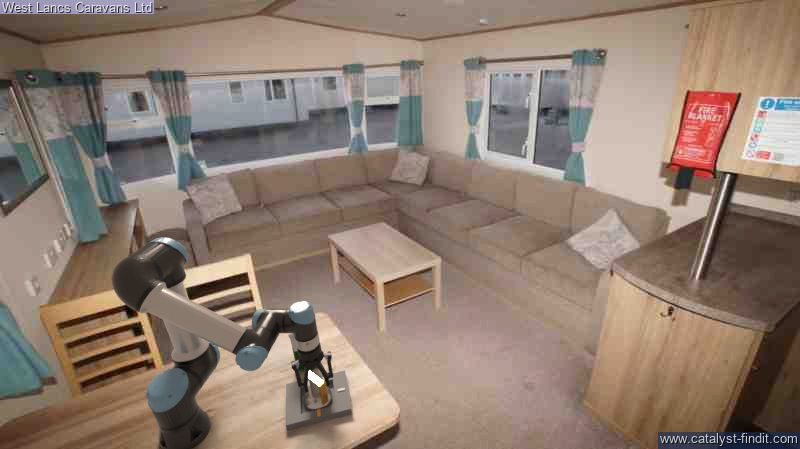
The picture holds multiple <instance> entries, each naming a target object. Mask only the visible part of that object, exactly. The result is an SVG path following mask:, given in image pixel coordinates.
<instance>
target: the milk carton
mask: <svg viewBox="0 0 800 449" xmlns="http://www.w3.org/2000/svg"><path fill="white" fill-rule="evenodd" d="M287 334H288V338H289V341H290V343H291V344H290V345H291V349H292V354H293V356H294V358H293V359H294V361H297V360H298V358H299V355H298V351H297V346H296V342H295V338H294V334H293V333H287ZM298 368H299V371H301V370H302V371H304V368H305V367H304V366H303V365H301V364H299V367H298ZM315 369H316V367H312V368H309V370H315Z"/></svg>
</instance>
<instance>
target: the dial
mask: <svg viewBox="0 0 800 449" xmlns="http://www.w3.org/2000/svg"><path fill="white" fill-rule="evenodd" d="M308 380H309V382H310V386H311V391H312V397H313V399H312V400H311V399H310V395H309V392H306V394H305V395H304V405H305V407H306V408H307V409H308V410H309V411H315V410H318V409H323V408H326V407H328V406H329V404H330V403H331V401H332V392H331V390H330V389H329V388H328V387H327V389H326V384H325V382H324V381H323V380H322V379H320V378H319V376H318V375H317V374H315V373H314V372H312V371H311V370H309V375H308ZM327 391H328V395H327Z"/></svg>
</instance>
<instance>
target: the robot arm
mask: <svg viewBox="0 0 800 449" xmlns="http://www.w3.org/2000/svg"><path fill="white" fill-rule="evenodd" d="M188 260H189V253H188V251H187V249H186V247H184V245H182V243H180V242H179V241H176V240H175V239H173V238H171V237H165V236H164V237H163V236H162V237H157V238H154V239H152V240H151V241H148V242H146V243H145V244H144V245H143V246H141V247H140V248H139V249H137V250H136V251H133V253H131V254H129V255H128V256H127V257H124V258H123V259H121V260H120V261H119V262H118V263H117V264H116V266H115V267H114V268H113V271H112V273H111V274H112V275H111V285H112V289H113V290H114V292H115V294H116V296H117V297H118V298H119V300H120V301H121V302H122V303H124V305H126V306H127V307H128V308H130V309H132V310H133V311H136V312H137V313H140V314H142V315H143V314H148V313H149V314H151V315H153V316H156V317H158V318H159V319H161V320H162V321H163V323H164V326H165V328H166V330H167V334H168V337H169V339H170V342H171V344H172V347H173V349H172V352H171V355H170V356H171V359H172V361H173V364H174V365H173V367H172V368H168V369H166V370H163V372H162V373H159V374H157V375H156V376H155V377H154V378H153V379H152V380H150V383H149V384H148V386H147V388H146V392H145V393H146V395H145V396H146V399H147V404H148V405H147V406H148V407H149V409H151V412H152V414H153V416H154V418H155V420H156V422H157V425H158V428H159V429H158V443H159V446H160V448H161V449H194V448H195V447H197V446H199V444H201V442H202V441H204V439H205V438H206V437H207V435H208V433H209V432H210V430H211V425H212V424H211V419H210V416H209V414H208V413H207V411H205V410H204V409H203V408H202V407H200V405H199V404H198V401H197V399H196V396H197V395H198V394H199V392H200V391H201V389H202V388H203V387H204V385H205V383H206V382H207V381H208V379H210V377H211V375H212V374H213V373H214V371H215V370H216V368H217V366H218V364H219V362H220V359H221V353H220V352H221V351H220V349H219V348H221V349H223V350H225V351H227V352H229V353H231V354H233V355H235V363H236V365H237V366H239V368H240V369H242V370H243V371H246V372H255V371H256V370H258V369H260V368H261V366H262V365H263V364H264V362H265V360H267V358H268V356H269V353H270V352H271V350H272V348H273V346H274V344H275V343H276V340H277V339H278V337H279V335H280V334H289V333H293V334H294V338H295V342H296V346H297V351H298V355H299V358H298V360H297V361H295V360H292V361H291V362H290V364H291V369H292V370H293V371H294V374H295V378H296V382H297V383H298V387H301V386H304V388H305V392H309V395H310V399H311V400H312V399H313V397H312V391H311V386H310V382H309V380H308V375H309V371H310V369H309V368H312V367H315V368H317V370H319V372H320V374H321V376H322V377H323V381H324V382H325V384H326V389H327V386H329V385H330V384H329V378H333V373H334V371H333V365H332V359H333V355H332V352H331V351H330V350H329V351H327V352H324V351H323V350H322V347H321V342H320V335H319V330H318V325H317V320H316V314H315V311H314V307H313V305H312V304H311V302H310V301H307V300H299V301H296V302H293V303H292V304H291V305H290V306H289V308H260V309H257V310H256V311H255V312H253V317H252V319H251V328H252V330H250V329H249V328H246V327H245V326H242V325H241V324H239V323H236V322H234V321H232V320H230V319H229V318H226V317H224V316H222V315H221V314H218V313H217V312H215V311H213V310H211V309H209V308H207V307H205V306H203V305H201V304H199V303H197V302H195V301H193V300H192V299H189V297H188V294H187V291H186V287H185V284H184V282H185V280H186V279H187V273H186V272H185V268H184V266H185V265H186V264H187V261H188ZM324 359H325V361H326V363H327V368H328V372H327V370H326V369H325V366H324V365H323V363H322V361H323V360H324ZM299 364H301V365H303V366H304V367H305V368H304V370H303V378H301V373H300V370H299V368H298V367H299ZM327 395H328V391H327Z"/></svg>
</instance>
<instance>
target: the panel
mask: <svg viewBox="0 0 800 449" xmlns="http://www.w3.org/2000/svg"><path fill="white" fill-rule="evenodd" d="M318 377H319V378H320V379H322V380H323V377H322V375H320V376H318ZM329 384H330V385H329V386H327V387H328V388H329V389H330V390H331V392H332V401H331V403H330V404H329V406H328V407H326V408H323V409H318V410H315V411H309V410H308V409H307V408H306V407H305V405H304V395H305V394H306V392H305V388H304V386H301V387H298V383H297V381H294V382H290V383H286V385H285V387H286V388H285V427H286V431H291V430H294V429H298V428H302V427H306V426H309V425H313V424H314V425H315V424H317V423H322V422H326V421H329V420H333V419H337V418H340V417H344V416H349V415H353V409H352V402H351V397H350V392H349V386H348V380H347V374H346V370H341V371H337V372H333V378H329Z"/></svg>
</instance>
